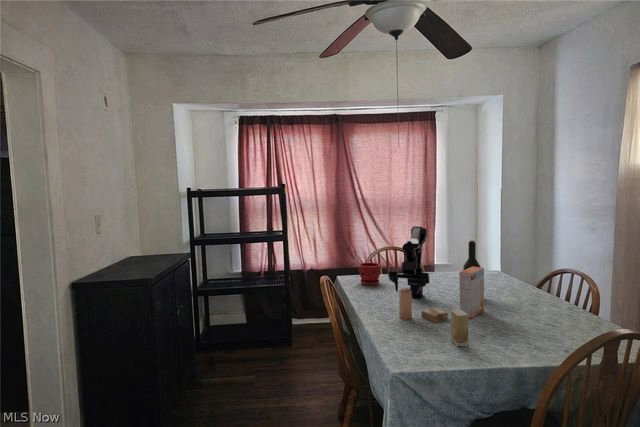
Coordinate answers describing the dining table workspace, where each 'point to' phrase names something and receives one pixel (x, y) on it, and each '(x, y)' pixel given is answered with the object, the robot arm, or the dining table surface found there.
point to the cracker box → (472, 291)
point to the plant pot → (369, 273)
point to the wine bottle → (471, 256)
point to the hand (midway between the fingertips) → (406, 292)
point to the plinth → (434, 315)
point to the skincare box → (459, 327)
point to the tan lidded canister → (405, 304)
